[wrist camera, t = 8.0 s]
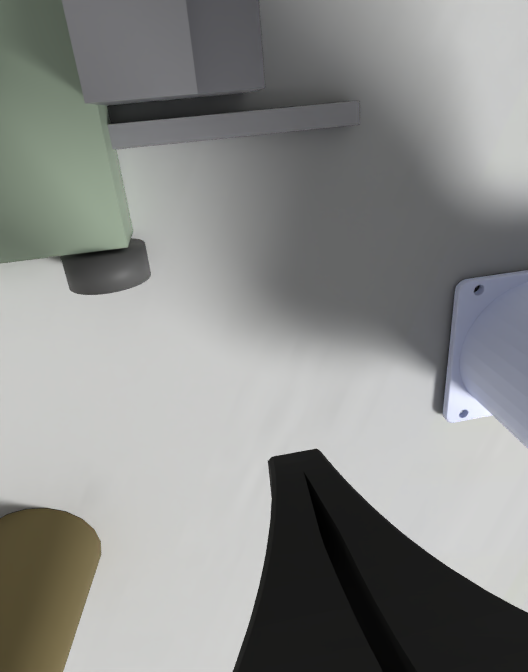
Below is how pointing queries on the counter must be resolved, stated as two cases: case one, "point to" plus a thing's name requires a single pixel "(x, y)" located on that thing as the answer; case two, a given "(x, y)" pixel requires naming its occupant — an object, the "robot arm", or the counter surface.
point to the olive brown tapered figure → (43, 586)
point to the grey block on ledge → (165, 48)
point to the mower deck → (89, 153)
